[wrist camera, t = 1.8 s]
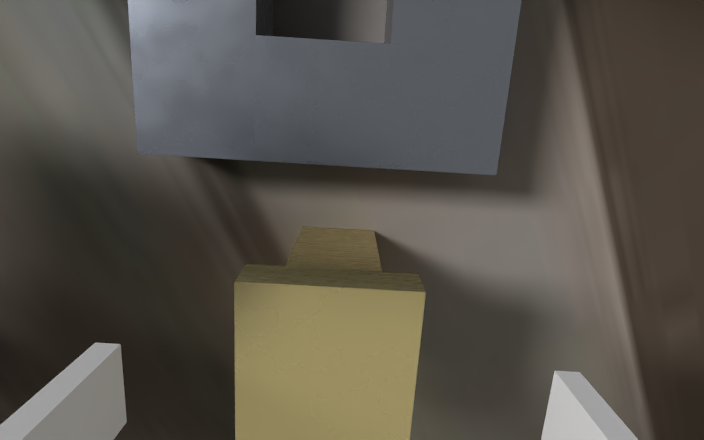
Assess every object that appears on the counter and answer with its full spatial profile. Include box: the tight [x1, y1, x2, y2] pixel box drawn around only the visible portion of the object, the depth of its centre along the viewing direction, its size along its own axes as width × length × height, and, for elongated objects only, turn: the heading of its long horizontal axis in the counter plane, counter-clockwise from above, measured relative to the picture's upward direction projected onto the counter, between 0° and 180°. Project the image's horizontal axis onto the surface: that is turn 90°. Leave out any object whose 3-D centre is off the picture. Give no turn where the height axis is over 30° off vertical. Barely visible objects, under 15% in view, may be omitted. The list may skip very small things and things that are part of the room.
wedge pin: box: [234, 227, 426, 440], centre depth 19 cm, size 6×6×11 cm
